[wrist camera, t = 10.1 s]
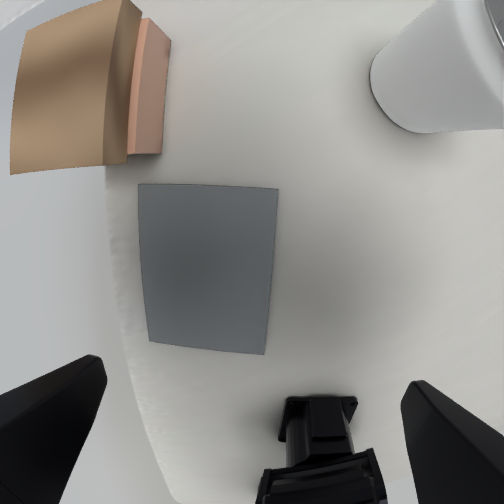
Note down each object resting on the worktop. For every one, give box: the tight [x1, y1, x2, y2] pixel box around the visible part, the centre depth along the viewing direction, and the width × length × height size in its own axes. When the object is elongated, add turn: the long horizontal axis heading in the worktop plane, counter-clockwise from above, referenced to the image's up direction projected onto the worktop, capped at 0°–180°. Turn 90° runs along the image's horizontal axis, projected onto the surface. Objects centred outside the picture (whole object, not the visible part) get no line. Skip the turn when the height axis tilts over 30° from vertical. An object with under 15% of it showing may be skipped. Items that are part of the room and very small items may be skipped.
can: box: [370, 0, 504, 133], centre depth 9 cm, size 6×6×12 cm
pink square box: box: [127, 18, 171, 155], centre depth 15 cm, size 8×8×4 cm
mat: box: [138, 184, 278, 355], centre depth 20 cm, size 12×9×1 cm
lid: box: [10, 0, 142, 175], centre depth 11 cm, size 9×7×2 cm
